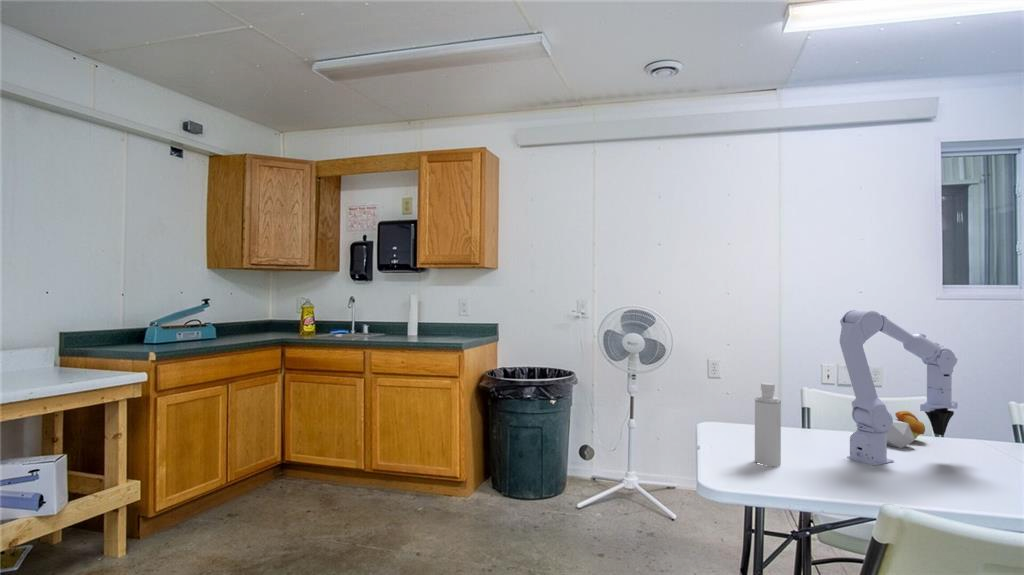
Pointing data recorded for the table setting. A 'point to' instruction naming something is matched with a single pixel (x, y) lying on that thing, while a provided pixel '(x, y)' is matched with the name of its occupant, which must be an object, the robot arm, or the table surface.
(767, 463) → the grey bottle
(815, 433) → the table surface
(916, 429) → the cheeseburger
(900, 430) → the die
